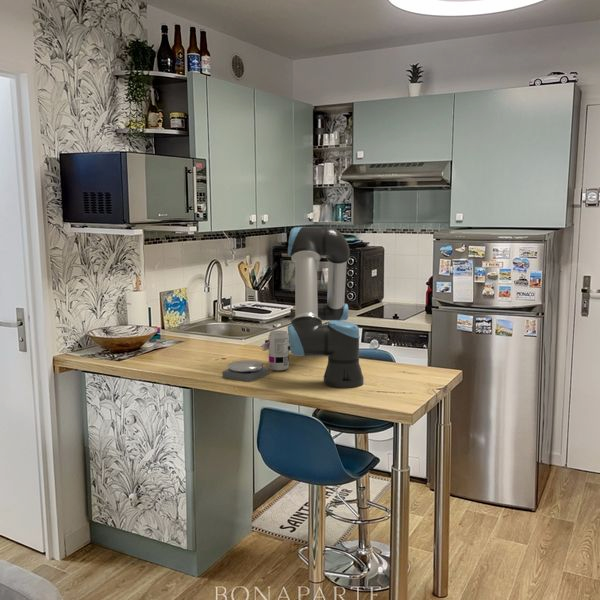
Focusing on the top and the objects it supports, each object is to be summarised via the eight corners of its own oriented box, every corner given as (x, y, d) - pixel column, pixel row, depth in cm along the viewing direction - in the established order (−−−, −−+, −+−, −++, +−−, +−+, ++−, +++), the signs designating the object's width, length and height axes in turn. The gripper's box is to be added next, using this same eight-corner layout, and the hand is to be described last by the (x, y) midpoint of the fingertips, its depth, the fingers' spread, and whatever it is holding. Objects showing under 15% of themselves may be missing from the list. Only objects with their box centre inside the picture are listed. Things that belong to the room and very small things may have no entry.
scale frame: (268, 374, 254) (268, 367, 254) (250, 381, 243) (250, 375, 243) (242, 370, 261) (241, 364, 261) (222, 377, 250) (222, 371, 249)
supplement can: (265, 369, 259) (265, 333, 257) (274, 365, 266) (273, 329, 264) (284, 371, 256) (283, 334, 254) (292, 366, 263) (291, 330, 261)
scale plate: (270, 372, 255) (270, 362, 254) (250, 380, 243) (250, 370, 242) (241, 368, 262) (241, 359, 261) (220, 375, 250) (220, 366, 249)
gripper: (320, 348, 272) (297, 360, 251) (275, 344, 281) (250, 355, 260) (320, 331, 271) (297, 341, 250) (275, 328, 280) (250, 337, 259)
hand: (273, 348), depth 255 cm, fingers open, 8 cm apart
